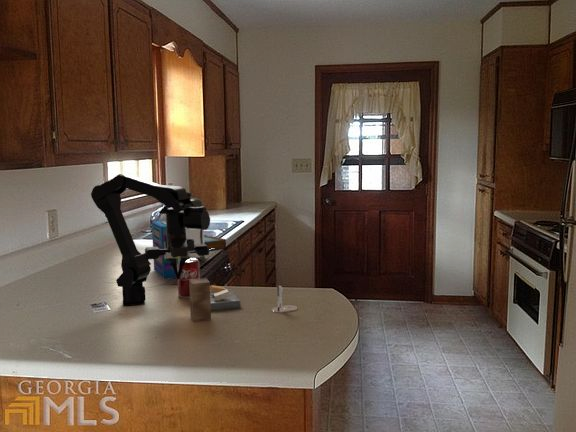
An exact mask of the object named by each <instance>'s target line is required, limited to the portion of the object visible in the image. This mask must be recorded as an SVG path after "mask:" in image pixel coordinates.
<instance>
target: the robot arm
mask: <svg viewBox="0 0 576 432" xmlns="http://www.w3.org/2000/svg"><path fill="white" fill-rule="evenodd" d="M126 190H129V191H133V192H137V193H139V194H142V195H146V196H149V197H150V198H151V197H152V198H154V199H155V200H156V201H157V202H158V203H160V204H161V205H163V207H162V209H161V210H160V211H159V212H158V214H161V215H162V214H164V215H165V221H166V229H167V249H159V248H158V247H153V246H148V247H147V246H146V248H145V249H144V253H141V252H140V251H139V250H138V249H137V246H136V244H135V241H134V238H133V237H132V234H131V232H130V229H129V227H128V224H127V222H126V219H125V216H124V215H123V213H122V209H121V206H122V205H121V203H122V198H121V197H122V196H121V195H122V194H124V192H126ZM187 193H188V192H187V190H186V188H184V186H183V187H182V186H178V185H165V184H164V185H163V184H159V183H156V182H153V181H150V180H147V179H144V178H140V177H137V176H134V175H131V173H119V174H117V175H116V176H114V177H113V178H111V179H109V180H107V181H105V182H103V183H102V184H97V185H95V186H94V187H93V188H92V191H91V192H90V196H91V199H92V201H93V203H94V204H95V206H96V208H98V209H99V210H100V211H101V212H102V213H103V214H104V215H105V217H106V219H107V222H108V225H109V228H110V231H111V232H112V234H113V237H114V239H115V242H116V244H117V247H118V249H119V252H120V255H121V263H120V265H121V271H122V273H121V274H120V275H119V276H118V277H117V279H115V280H116V285H117V287H121V288H122V289H121V290H122V306H123V307H129V306H137V305H138V306H139V305H144V304H145V302H146V288H145V286H144V284H143V283H144V282H147V279H148V277H149V275H150V273H151V270H152V268H151V265H152V263H151V262H150V260H154V259H157V258H158V257H159V256H160V255H164V258H165V260H166V261H170V263H171V265H172V267H173V270H174V273H175V276H176V278H175V279H176V280H178V279H180V276H181V273H182V269H183V266H184V264H185V262H186V260H187V259H190V256H189V255H190V253H197V254H198V255H199V256H203V255H204V256H209V255H210V250H209V247H208V246H207V245H206V244H194V239H186V228H187V229H197V230H204V231H206V230H208V229H209V227H210V224H211V217H210V214H209V212H208V211H207V206H203V207H195V206H194V204H193V203H192V201H191V200H190V198H189V197H188V195H187ZM178 256H179V257H178ZM175 257H178V271H177V265H176V258H175Z"/></svg>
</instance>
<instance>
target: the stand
mask: <svg viewBox="0 0 576 432" xmlns="http://www.w3.org/2000/svg"><path fill="white" fill-rule="evenodd" d="M276 289H277V291H276V293H277V295H276V299H277V300H276V301H277V306H276V307H272V308H271V312H272V313H276V314H284V313H289V312H294V311H297V310H298V307H297V306H296V305H293V304H292V305H291V304H287V305H286V304H285V305H283V291H284V288H283V286H281V285H277V286H276Z"/></svg>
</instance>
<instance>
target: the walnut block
mask: <svg viewBox="0 0 576 432" xmlns="http://www.w3.org/2000/svg"><path fill="white" fill-rule="evenodd" d="M210 287H211V283H210V280H209V279H208V277H200V278H195V279H189V288H190V298H189V304H190V305H189V307H190V310H189V312H190V317H191V321H192V322H193V323H198V322H206V321H212V312H211V302H210Z"/></svg>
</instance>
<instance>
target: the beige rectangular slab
mask: <svg viewBox="0 0 576 432" xmlns="http://www.w3.org/2000/svg"><path fill="white" fill-rule="evenodd" d="M225 289H226V290H223V291H221V292H218V293H215V294H214V297H215V299H216V301H218V300H221V299H224V298H227V297H229V296H230V294H229V291H228V290H229V289H227V288H225Z"/></svg>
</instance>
